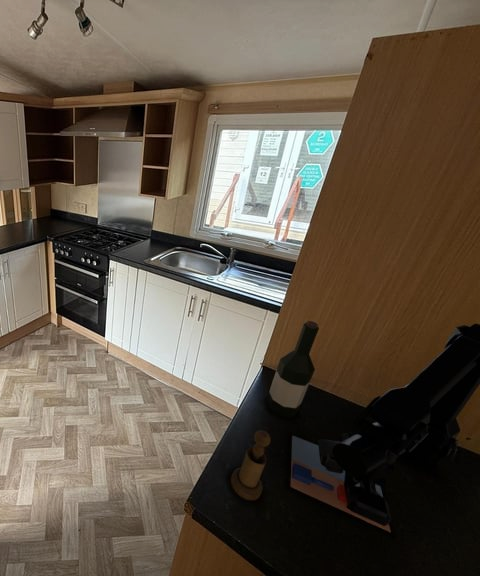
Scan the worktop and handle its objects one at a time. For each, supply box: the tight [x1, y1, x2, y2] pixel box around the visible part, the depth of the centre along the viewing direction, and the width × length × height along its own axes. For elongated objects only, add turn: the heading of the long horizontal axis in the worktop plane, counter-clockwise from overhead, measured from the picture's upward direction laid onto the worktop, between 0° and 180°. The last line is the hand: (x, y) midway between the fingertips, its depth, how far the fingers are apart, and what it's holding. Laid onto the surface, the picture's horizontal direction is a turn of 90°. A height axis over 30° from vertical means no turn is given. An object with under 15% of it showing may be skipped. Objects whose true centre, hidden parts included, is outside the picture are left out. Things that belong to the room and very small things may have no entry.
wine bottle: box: [265, 320, 320, 418], centre depth 87 cm, size 8×8×30 cm
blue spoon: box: [292, 463, 334, 491], centre depth 73 cm, size 8×3×2 cm, turn 59°
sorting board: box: [290, 435, 392, 533], centre depth 74 cm, size 18×16×1 cm
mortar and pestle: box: [230, 429, 272, 501], centre depth 69 cm, size 7×6×18 cm
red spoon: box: [337, 484, 347, 504], centre depth 68 cm, size 8×3×2 cm, turn 59°
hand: (347, 497), depth 70 cm, fingers open, 5 cm apart
